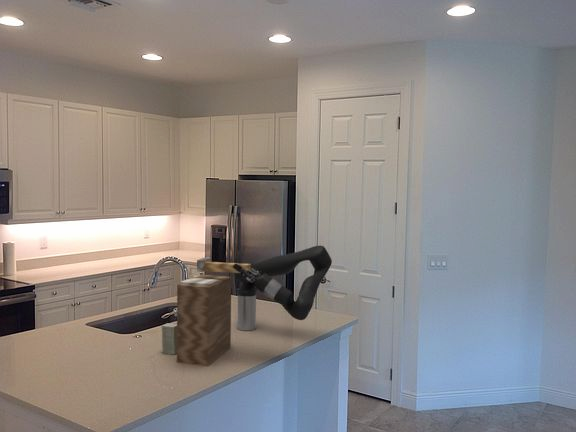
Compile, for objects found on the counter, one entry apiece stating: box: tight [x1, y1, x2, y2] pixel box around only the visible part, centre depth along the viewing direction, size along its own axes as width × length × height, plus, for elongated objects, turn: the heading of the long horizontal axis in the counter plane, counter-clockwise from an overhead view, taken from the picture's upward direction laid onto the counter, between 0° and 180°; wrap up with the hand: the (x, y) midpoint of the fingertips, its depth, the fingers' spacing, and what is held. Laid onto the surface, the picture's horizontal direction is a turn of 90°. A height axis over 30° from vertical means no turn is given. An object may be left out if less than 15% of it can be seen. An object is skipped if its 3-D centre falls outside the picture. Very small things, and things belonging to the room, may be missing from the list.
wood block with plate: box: [196, 256, 251, 274], centre depth 221 cm, size 22×9×5 cm, turn 75°
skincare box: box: [161, 322, 177, 355], centre depth 222 cm, size 6×4×12 cm
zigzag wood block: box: [176, 274, 232, 367], centre depth 219 cm, size 14×24×33 cm, turn 165°
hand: (236, 264), depth 219 cm, fingers closed on wood block with plate, 3 cm apart
